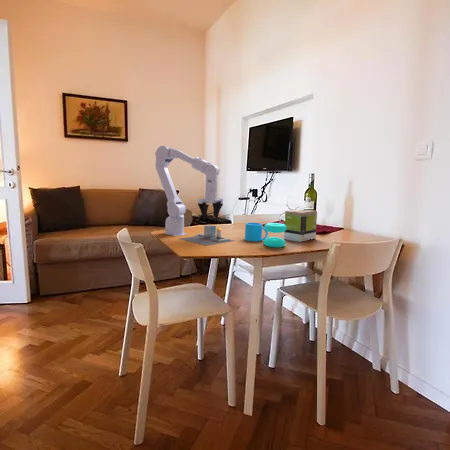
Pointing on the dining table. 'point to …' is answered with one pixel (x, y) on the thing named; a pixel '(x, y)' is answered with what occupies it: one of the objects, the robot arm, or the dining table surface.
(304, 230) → the tea box
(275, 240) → the donuts
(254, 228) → the mug
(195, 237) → the mat
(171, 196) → the robot arm
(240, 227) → the dining table surface
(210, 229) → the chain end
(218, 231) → the pin
